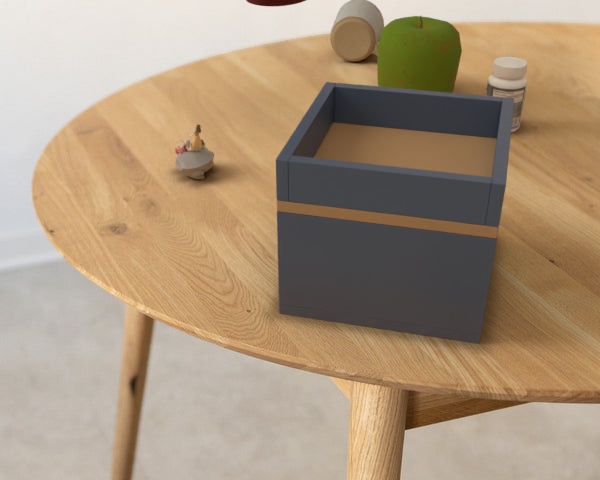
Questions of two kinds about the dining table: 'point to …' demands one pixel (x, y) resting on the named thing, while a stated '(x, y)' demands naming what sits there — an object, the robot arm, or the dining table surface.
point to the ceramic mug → (357, 30)
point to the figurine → (194, 156)
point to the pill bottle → (509, 84)
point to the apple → (418, 54)
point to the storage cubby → (393, 208)
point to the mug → (274, 2)
